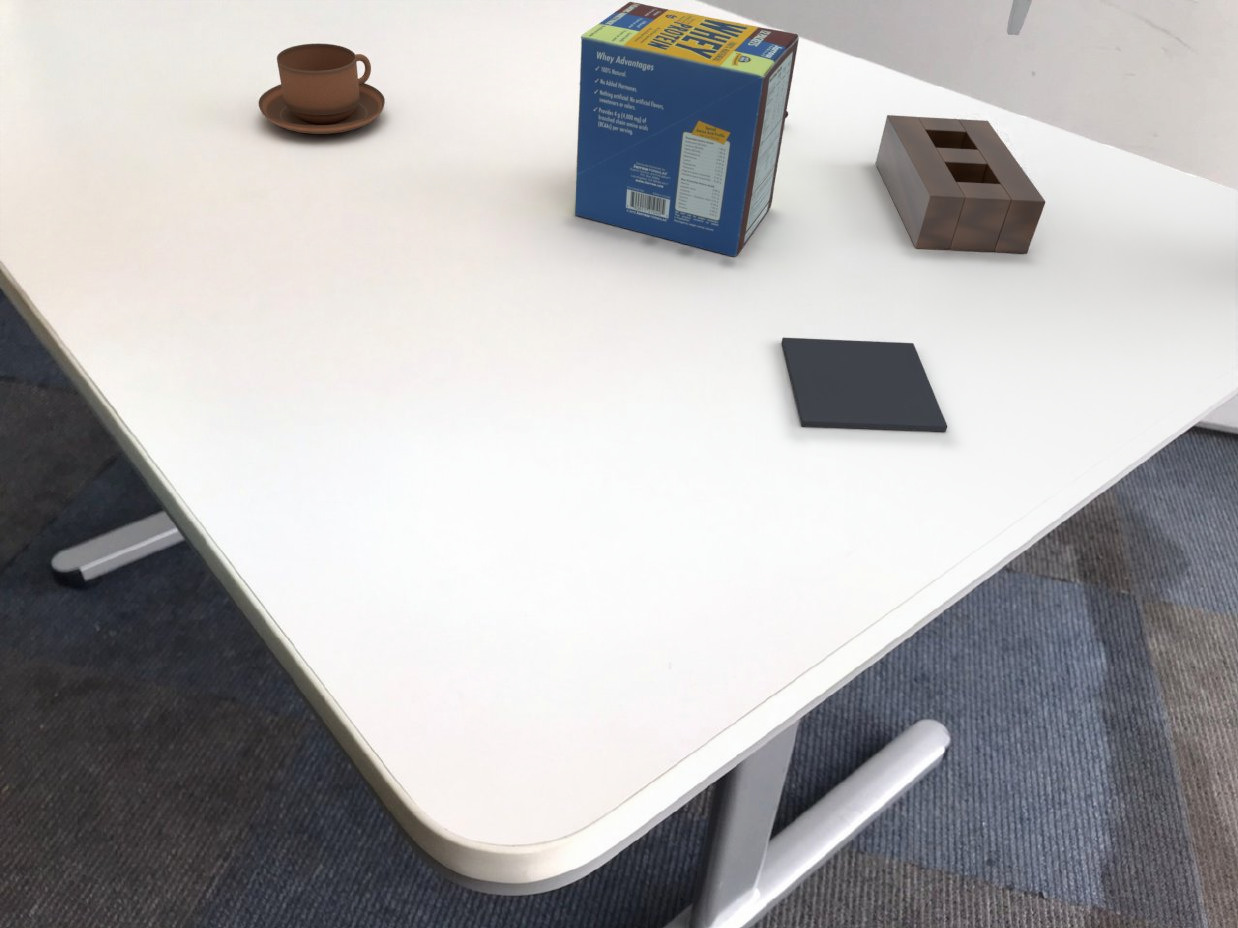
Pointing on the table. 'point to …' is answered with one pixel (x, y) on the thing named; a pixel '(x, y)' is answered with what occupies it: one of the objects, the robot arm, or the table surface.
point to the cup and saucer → (321, 91)
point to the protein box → (681, 124)
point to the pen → (1018, 16)
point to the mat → (861, 385)
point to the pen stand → (957, 185)
